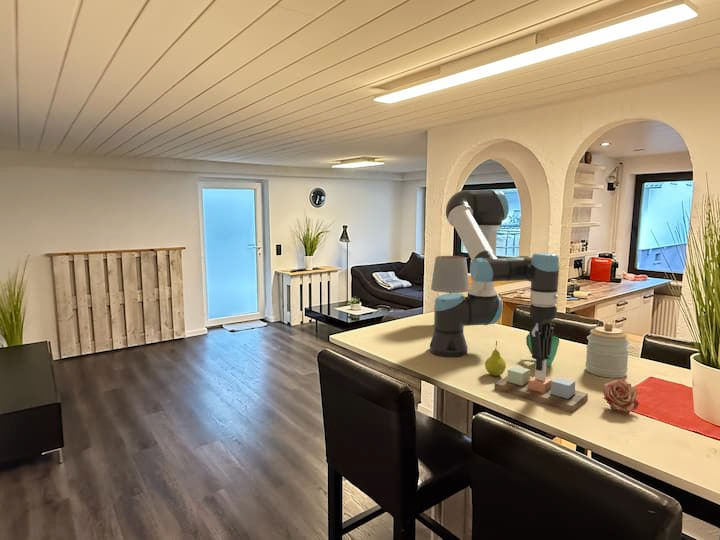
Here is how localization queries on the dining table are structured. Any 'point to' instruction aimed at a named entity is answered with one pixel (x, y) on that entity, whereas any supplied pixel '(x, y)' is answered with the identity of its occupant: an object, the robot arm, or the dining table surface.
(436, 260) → the lamp
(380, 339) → the dining table surface
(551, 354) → the mug
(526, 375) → the button sage
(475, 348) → the dining table surface
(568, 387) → the button slate
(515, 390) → the button board
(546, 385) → the button terracotta
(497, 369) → the fruit
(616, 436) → the dining table surface
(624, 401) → the flower
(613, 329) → the jar
